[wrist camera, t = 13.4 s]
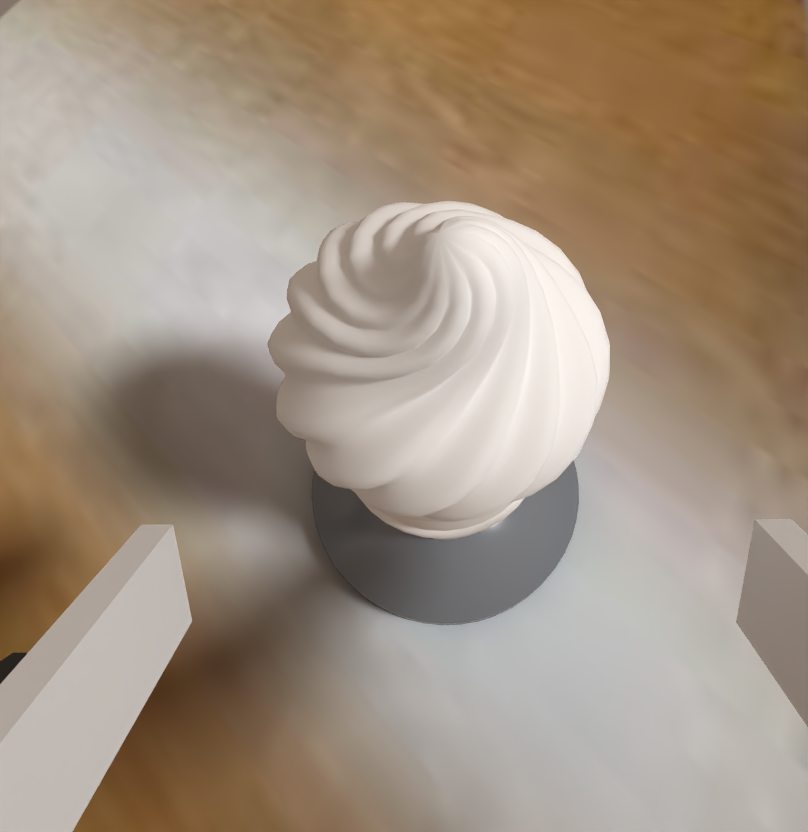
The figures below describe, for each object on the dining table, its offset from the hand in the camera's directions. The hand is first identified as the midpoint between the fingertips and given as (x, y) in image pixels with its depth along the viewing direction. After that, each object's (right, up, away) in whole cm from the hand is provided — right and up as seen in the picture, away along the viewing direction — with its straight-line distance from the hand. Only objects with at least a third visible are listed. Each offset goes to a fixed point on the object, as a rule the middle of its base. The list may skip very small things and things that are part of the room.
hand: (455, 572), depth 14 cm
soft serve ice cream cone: (+1, +1, +11) cm, 11 cm away
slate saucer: (+1, 0, +12) cm, 12 cm away
